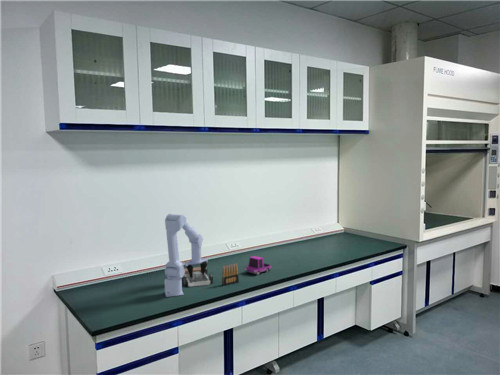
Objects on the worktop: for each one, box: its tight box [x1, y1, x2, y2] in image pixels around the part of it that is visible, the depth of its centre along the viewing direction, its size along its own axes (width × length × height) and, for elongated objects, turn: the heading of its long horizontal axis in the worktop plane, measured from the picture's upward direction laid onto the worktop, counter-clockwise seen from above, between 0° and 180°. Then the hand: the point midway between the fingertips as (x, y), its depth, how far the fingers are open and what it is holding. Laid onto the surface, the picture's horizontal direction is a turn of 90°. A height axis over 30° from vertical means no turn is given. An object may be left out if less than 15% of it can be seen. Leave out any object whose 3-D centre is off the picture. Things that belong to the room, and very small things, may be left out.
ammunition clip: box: [221, 262, 240, 287], centre depth 241 cm, size 11×2×12 cm, turn 125°
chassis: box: [183, 266, 214, 288], centre depth 250 cm, size 17×24×5 cm
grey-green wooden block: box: [193, 271, 202, 282], centre depth 246 cm, size 4×5×5 cm
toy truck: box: [244, 255, 272, 276], centre depth 264 cm, size 11×16×10 cm
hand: (196, 275), depth 247 cm, fingers open, 7 cm apart
